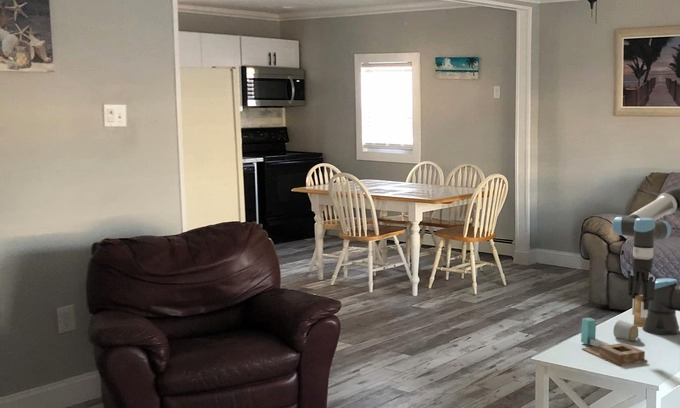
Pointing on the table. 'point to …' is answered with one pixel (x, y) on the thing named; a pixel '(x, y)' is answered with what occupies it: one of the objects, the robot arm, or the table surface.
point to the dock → (618, 354)
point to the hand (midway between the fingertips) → (639, 315)
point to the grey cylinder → (625, 330)
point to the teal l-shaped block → (590, 333)
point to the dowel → (638, 312)
